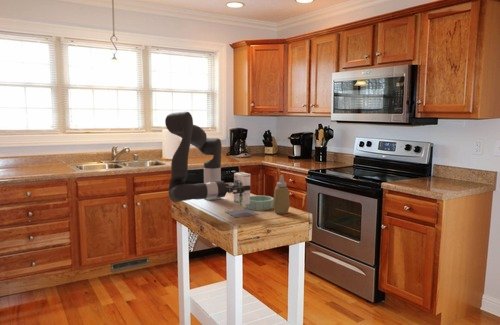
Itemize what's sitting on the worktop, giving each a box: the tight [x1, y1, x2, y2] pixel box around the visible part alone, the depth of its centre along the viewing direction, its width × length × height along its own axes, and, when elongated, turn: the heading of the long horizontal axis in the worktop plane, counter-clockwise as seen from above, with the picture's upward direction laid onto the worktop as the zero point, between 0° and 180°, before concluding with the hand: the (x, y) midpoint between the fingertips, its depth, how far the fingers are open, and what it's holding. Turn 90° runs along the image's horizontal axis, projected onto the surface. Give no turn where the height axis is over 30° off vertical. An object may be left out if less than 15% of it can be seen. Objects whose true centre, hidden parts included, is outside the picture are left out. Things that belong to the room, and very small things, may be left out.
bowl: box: [244, 195, 274, 211], centre depth 198 cm, size 14×14×4 cm
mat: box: [224, 208, 260, 219], centre depth 185 cm, size 12×12×1 cm
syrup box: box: [233, 172, 251, 207], centre depth 184 cm, size 6×6×14 cm
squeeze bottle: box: [273, 174, 291, 215], centre depth 185 cm, size 8×8×18 cm
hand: (246, 186), depth 185 cm, fingers closed on syrup box, 6 cm apart
